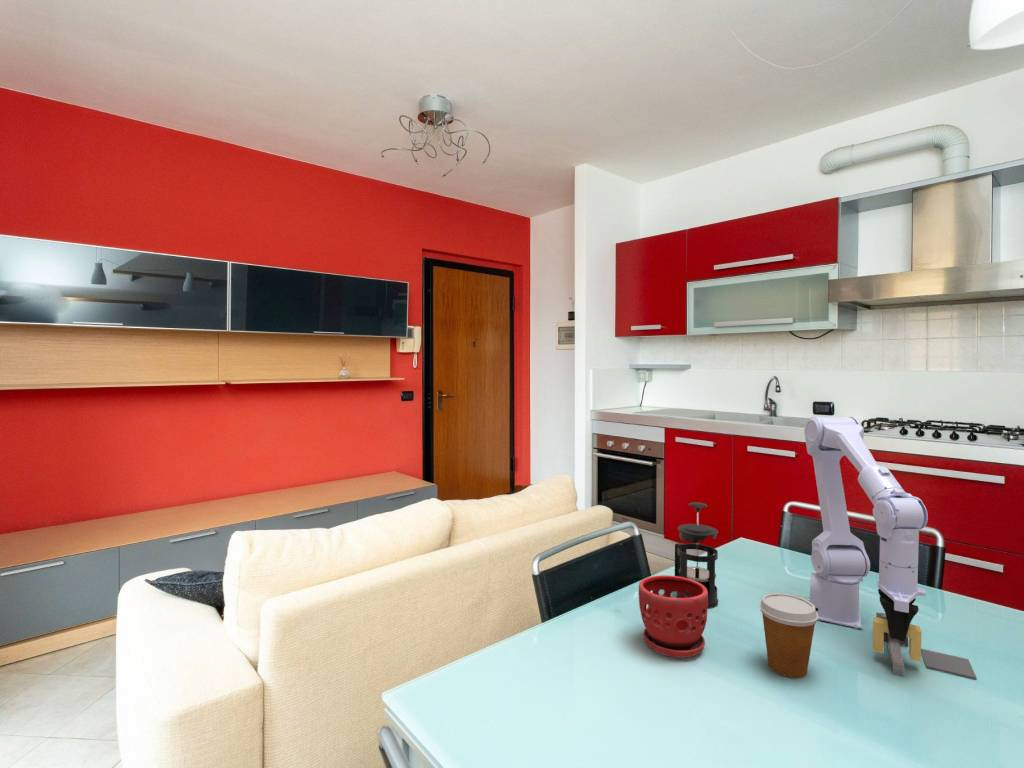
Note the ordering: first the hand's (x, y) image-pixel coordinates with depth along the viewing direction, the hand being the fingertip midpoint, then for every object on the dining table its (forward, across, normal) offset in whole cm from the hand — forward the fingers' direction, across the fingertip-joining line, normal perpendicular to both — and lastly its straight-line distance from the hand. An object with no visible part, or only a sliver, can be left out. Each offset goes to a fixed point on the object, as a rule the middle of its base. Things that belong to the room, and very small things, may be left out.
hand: (896, 635), depth 97 cm
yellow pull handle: (+3, 0, 0) cm, 3 cm away
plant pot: (+6, -15, +37) cm, 40 cm away
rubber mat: (+5, +5, -8) cm, 11 cm away
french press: (+6, +9, +38) cm, 39 cm away
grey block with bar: (+6, +4, 0) cm, 7 cm away
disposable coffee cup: (+6, -12, +17) cm, 22 cm away
